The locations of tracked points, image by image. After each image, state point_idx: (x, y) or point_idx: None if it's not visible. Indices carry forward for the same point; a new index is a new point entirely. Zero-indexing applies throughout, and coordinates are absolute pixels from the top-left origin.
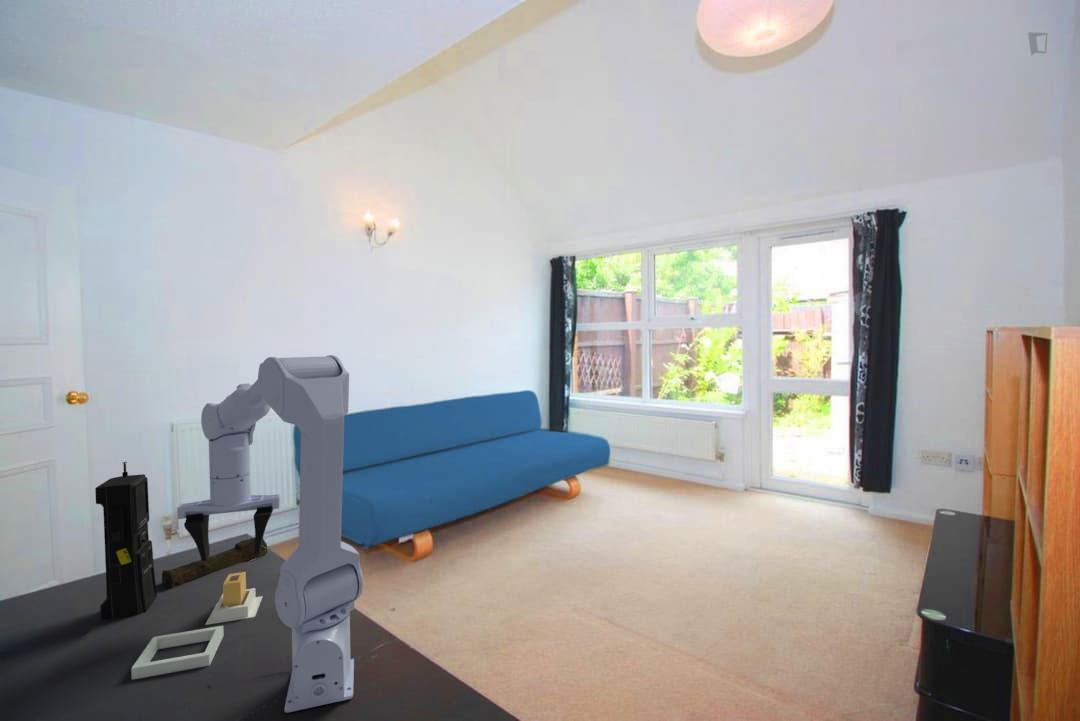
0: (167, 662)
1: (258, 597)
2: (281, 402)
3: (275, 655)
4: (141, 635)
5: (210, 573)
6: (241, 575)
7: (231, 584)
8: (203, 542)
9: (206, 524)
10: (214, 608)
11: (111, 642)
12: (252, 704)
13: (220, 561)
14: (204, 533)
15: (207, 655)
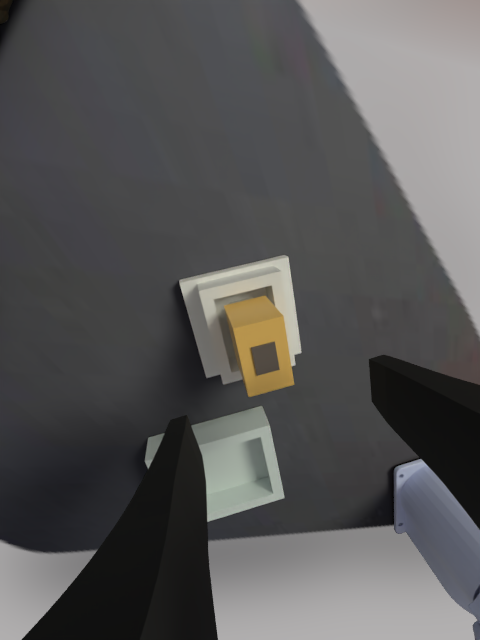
0: (225, 515)
1: (279, 263)
2: None
3: (361, 441)
4: (71, 387)
5: (4, 19)
6: (280, 342)
7: (270, 389)
8: (206, 553)
9: (185, 605)
10: (188, 311)
11: (22, 409)
12: (355, 519)
13: None
14: (203, 588)
15: (281, 497)
